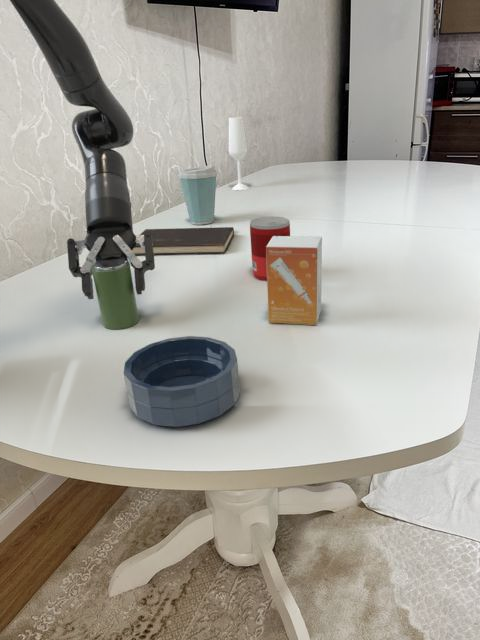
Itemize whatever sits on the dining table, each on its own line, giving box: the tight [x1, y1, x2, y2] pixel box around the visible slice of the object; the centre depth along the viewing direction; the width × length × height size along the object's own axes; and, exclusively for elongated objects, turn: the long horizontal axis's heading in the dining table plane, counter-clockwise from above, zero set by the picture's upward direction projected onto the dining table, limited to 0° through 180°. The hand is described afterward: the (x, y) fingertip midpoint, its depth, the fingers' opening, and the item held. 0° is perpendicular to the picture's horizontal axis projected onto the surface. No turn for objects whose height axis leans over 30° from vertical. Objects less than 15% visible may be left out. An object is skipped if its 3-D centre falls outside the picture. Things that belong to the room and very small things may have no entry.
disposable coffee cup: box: [178, 165, 218, 226], centre depth 146 cm, size 11×11×15 cm
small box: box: [266, 235, 323, 326], centre depth 84 cm, size 8×6×13 cm
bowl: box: [123, 335, 241, 428], centre depth 65 cm, size 14×14×6 cm
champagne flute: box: [228, 116, 250, 191], centre depth 187 cm, size 7×7×24 cm
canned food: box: [249, 216, 291, 282], centre depth 104 cm, size 8×8×11 cm
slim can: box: [92, 258, 140, 330], centre depth 87 cm, size 6×6×10 cm
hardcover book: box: [132, 226, 235, 257], centre depth 129 cm, size 16×23×2 cm
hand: (114, 294), depth 85 cm, fingers open, 7 cm apart
